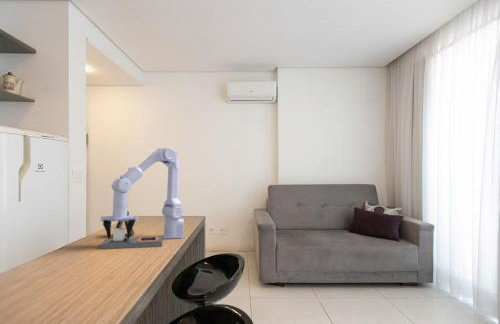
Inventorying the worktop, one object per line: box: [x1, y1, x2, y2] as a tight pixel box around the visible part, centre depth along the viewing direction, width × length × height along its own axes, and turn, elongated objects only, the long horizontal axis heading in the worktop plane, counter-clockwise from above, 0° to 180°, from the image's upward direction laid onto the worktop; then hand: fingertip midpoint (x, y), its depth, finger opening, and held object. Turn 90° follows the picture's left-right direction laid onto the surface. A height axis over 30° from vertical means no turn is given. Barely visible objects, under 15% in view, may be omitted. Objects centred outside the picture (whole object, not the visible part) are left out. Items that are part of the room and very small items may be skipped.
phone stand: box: [111, 210, 135, 238], centre depth 142 cm, size 9×6×12 cm, turn 100°
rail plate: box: [100, 236, 164, 250], centre depth 124 cm, size 24×10×2 cm, turn 106°
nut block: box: [112, 227, 126, 242], centre depth 123 cm, size 4×4×7 cm
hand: (118, 238), depth 123 cm, fingers open, 7 cm apart
